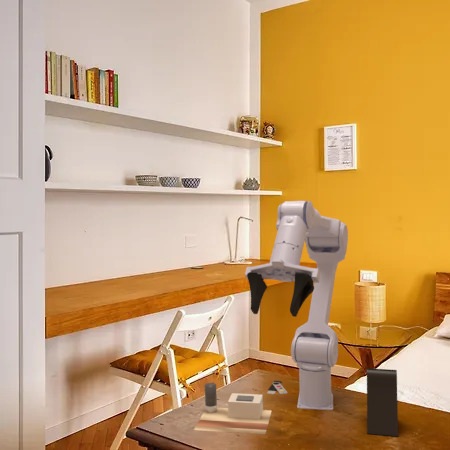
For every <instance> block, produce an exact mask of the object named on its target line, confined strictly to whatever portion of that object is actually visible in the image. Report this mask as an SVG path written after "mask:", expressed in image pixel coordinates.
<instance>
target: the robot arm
mask: <svg viewBox="0 0 450 450" xmlns="http://www.w3.org/2000/svg"><path fill="white" fill-rule="evenodd" d="M276 219H277V220H276V224H275V225H276V227H275V228H276V231H277V232H276V236H275V240H274V244H273V246H272V247H273V248H272V252H271V256H270V258H269V259H270V260H269V262H267V263H262V264H260V265H254V266H246V269H245V273H244V276H245V278H246V280H247V281H248V285H249V291H250V311H251V312H252V313H253V314H254V315H258V313H259V311H260V307H261V303H262V299H263V297H264V294H265V292H266V290H267V288H268V285H267V283H266V281H264V280H274V281H278V282H283V283H285V282H286V283H292V282H294V285H293V292H292V297H291V302H290V306H289V313H290V315H292V317H295V318H296V317H297V316H298V313H299V311H300V309H301V307H302V305H304V302H306V299H308V298H309V296H311V300H310V301H311V302H310V307H309V313H308V318H307V319H308V320H307V321H306V322H305V323H304V324H302V325H300V326H299V327H297V328H296V330H295V333H294V337H293V339H292V342H291V347H290V355H291V359H292V360H293V362H294V363H295V364H296V367H297V368H298V371H299V373H298V376H299V377H298V379H299V381H298V382H299V383H298V384H299V392H298V393H299V394H298V399H297V405H296V407H297V409H299V410H301V409H303V410H321V411H323V410H324V411H333V410H334V394H333V393H332V376H331V375H332V371H331V370H332V368H333V367H334V366H335V365H336V364H337V362H338V357H339V338H338V334H337V332H335V330H334V329H332V327H330V326H329V322H330V314H331V308H332V306H331V305H332V300H333V299H332V298H333V292H334V287H335V280H336V272H337V270H338V269H337V268H338V264H339V263H340V262H342V261H344V260H345V258H346V255H347V250H348V244H349V230H348V225H347V224H346V223H345V222H342V221H341V220H340V219H337V218H334V217H333V218H332V217H329V216H323V215H321V214H320V211H319V210H317V209H316V208H314V205H313V202H312V200H309V201H307V200H291V201H290V200H289V201H288V200H287V201H286V200H285V201H283V203H280V204H279V206H277V218H276ZM304 245H305V246H306V251H307V254H308V257H309V259H310V260H312V261H313V262H315V263H316V268H315V267H308V266H304V265H301V259H302V255H303V250H304Z"/></svg>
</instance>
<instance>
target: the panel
mask: <svg viewBox="0 0 450 450" xmlns="http://www.w3.org/2000/svg"><path fill="white" fill-rule="evenodd" d="M272 412H273V410H271V409H269V410H268V409H263V411H262V415H261V418H260V419H246V418H229V417H228V407H217V412H215V413H207V412H206V411H205V410H204V411H203V412H202V414H201V416H200V418H199V420H198V421H197V422H196V425H195V427H194V429H193V431H200V432H201V431H202V432H203V431H204V432H218V433H219V432H221V433H234V434H235V433H236V434H251V435H266V433H267V430H268V427H269V422H270V420H271V415H272Z"/></svg>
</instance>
